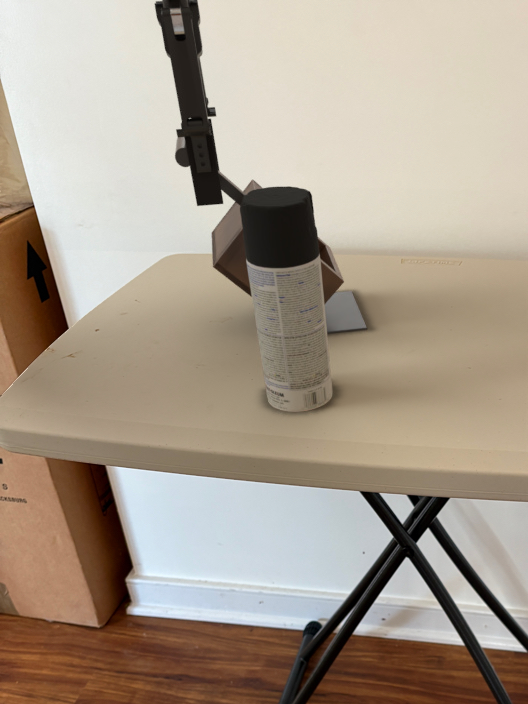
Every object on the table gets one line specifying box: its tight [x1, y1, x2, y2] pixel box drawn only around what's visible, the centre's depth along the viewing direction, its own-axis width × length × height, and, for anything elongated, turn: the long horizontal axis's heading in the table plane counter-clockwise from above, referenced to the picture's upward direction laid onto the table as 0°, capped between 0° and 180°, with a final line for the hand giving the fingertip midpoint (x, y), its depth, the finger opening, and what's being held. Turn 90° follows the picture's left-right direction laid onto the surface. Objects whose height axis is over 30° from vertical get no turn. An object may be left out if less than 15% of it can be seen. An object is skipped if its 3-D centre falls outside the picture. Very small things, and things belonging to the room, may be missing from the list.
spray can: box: [240, 186, 333, 413], centre depth 71 cm, size 7×7×20 cm
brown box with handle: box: [174, 137, 345, 305], centre depth 85 cm, size 8×12×21 cm
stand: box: [325, 290, 368, 335], centre depth 93 cm, size 8×12×1 cm, turn 12°
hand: (209, 193), depth 82 cm, fingers closed on brown box with handle, 7 cm apart
